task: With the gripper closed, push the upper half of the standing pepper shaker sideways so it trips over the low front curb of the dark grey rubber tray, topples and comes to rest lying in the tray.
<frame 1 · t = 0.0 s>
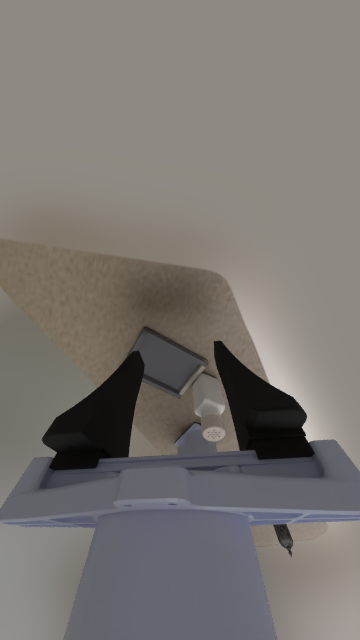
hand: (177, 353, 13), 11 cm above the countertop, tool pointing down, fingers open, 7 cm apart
pepper shaker: (204, 380, 28), on the countertop
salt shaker: (261, 475, 41), on the countertop
tray: (164, 363, 27), on the countertop
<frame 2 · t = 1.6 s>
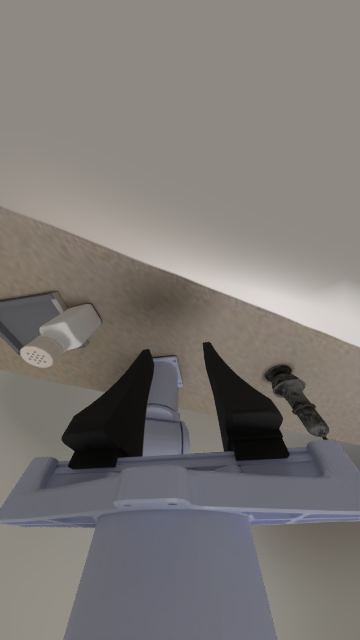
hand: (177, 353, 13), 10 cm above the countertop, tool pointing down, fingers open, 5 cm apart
pepper shaker: (88, 314, 23), on the countertop
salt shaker: (277, 372, 31), on the countertop
tray: (39, 324, 24), on the countertop
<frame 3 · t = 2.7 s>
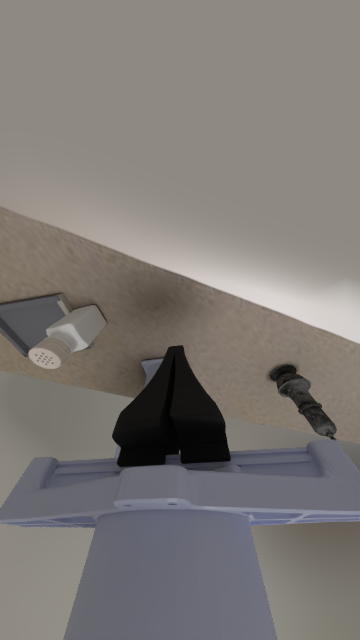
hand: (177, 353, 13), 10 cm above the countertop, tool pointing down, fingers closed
pepper shaker: (93, 315, 23), on the countertop
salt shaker: (282, 372, 31), on the countertop
tray: (44, 326, 24), on the countertop
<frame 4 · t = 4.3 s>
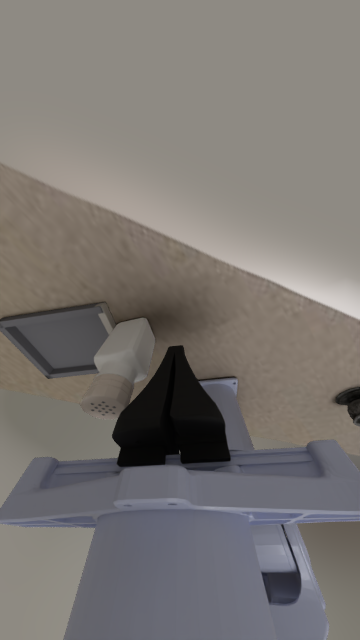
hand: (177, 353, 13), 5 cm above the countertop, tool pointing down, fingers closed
pepper shaker: (138, 330, 18), on the countertop
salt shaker: (350, 394, 26), on the countertop
tray: (75, 342, 19), on the countertop
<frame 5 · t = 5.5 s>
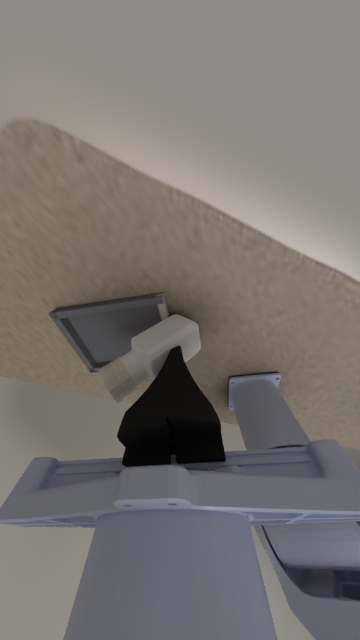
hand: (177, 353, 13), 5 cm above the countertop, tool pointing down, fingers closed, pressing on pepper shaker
pepper shaker: (190, 329, 16), point 1 cm above the countertop, touching gripper, tray
tray: (123, 335, 19), on the countertop
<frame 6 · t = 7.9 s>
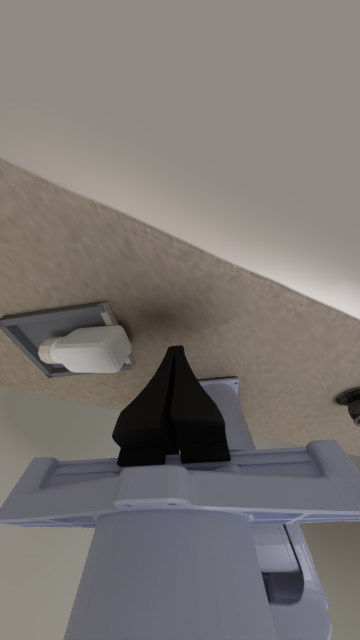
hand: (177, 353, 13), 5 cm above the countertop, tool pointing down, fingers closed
pepper shaker: (123, 347, 15), point 3 cm above the countertop, touching tray
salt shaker: (351, 395, 26), on the countertop
tray: (76, 341, 19), on the countertop
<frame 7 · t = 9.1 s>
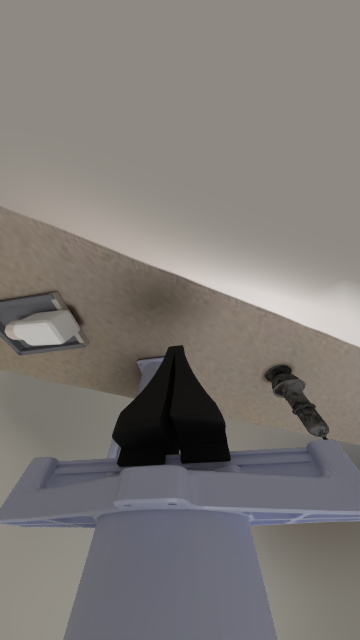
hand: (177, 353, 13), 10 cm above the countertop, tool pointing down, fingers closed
pepper shaker: (67, 326, 20), point 3 cm above the countertop, touching tray
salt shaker: (277, 372, 31), on the countertop
tray: (39, 324, 24), on the countertop
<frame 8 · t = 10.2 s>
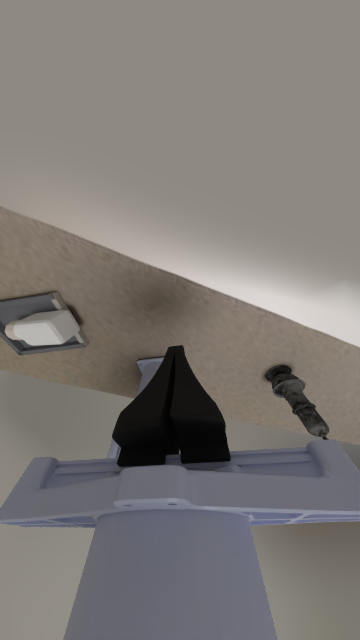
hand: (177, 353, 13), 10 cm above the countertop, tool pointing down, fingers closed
pepper shaker: (67, 326, 20), point 3 cm above the countertop, touching tray
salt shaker: (277, 372, 31), on the countertop
tray: (39, 324, 24), on the countertop
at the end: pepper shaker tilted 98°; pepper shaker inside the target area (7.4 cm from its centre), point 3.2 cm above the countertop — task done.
